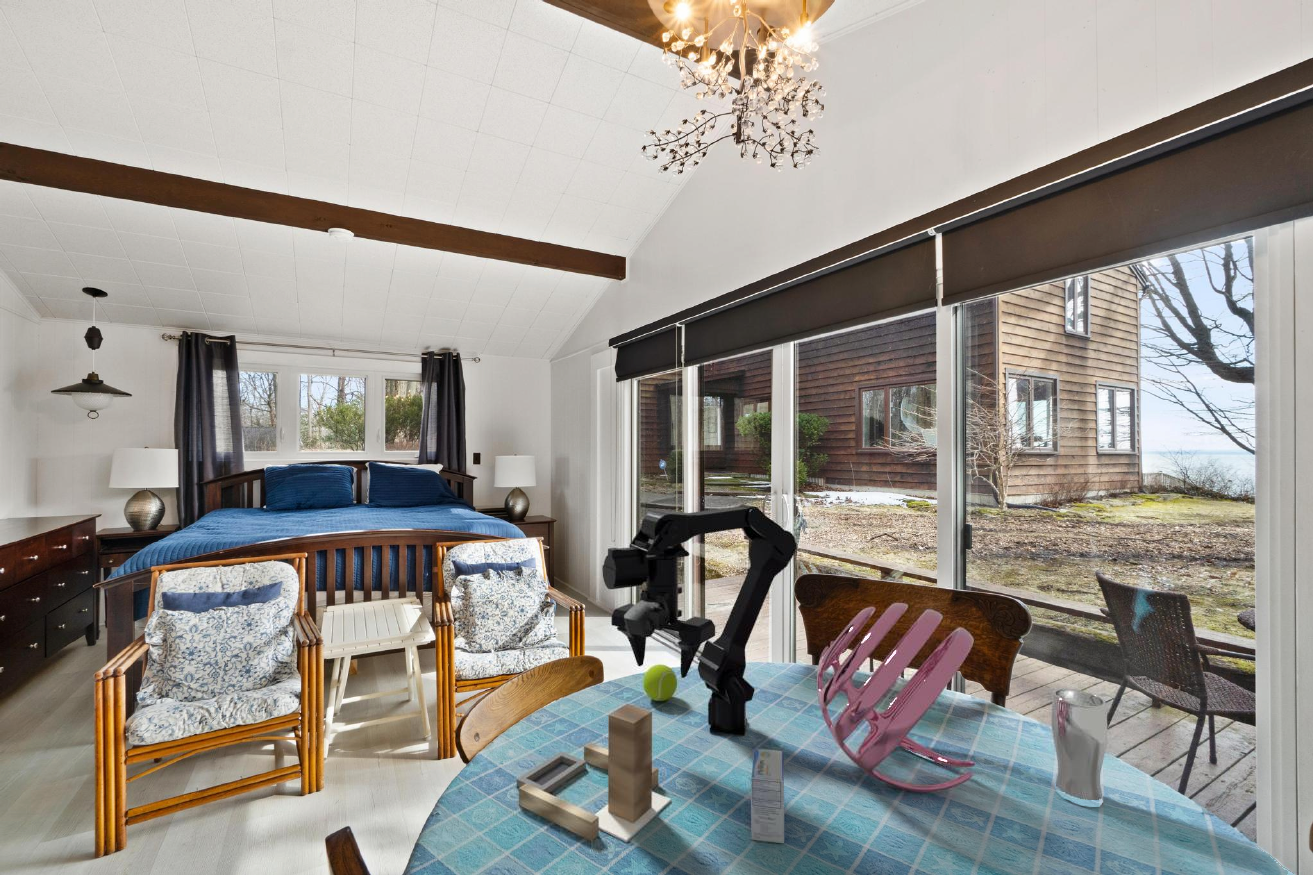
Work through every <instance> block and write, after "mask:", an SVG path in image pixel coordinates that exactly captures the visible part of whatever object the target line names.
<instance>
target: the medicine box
mask: <svg viewBox="0 0 1313 875" xmlns="http://www.w3.org/2000/svg"><path fill="white" fill-rule="evenodd" d="M752 757H753V758H752V768H751V778H750V825H751V826H750V828H751V830H750V835H751V839H752V841H753V840H754V841H758V842H765V843H766V842H767V843H774V844H775V843H777V844H782V845H783V844H784V843H785V768H784V767H785V765H784V752H783V751H782V750H776V749H775V750H773V749H768V748H767V749H765V748H754V749H753V754H752Z"/></svg>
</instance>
